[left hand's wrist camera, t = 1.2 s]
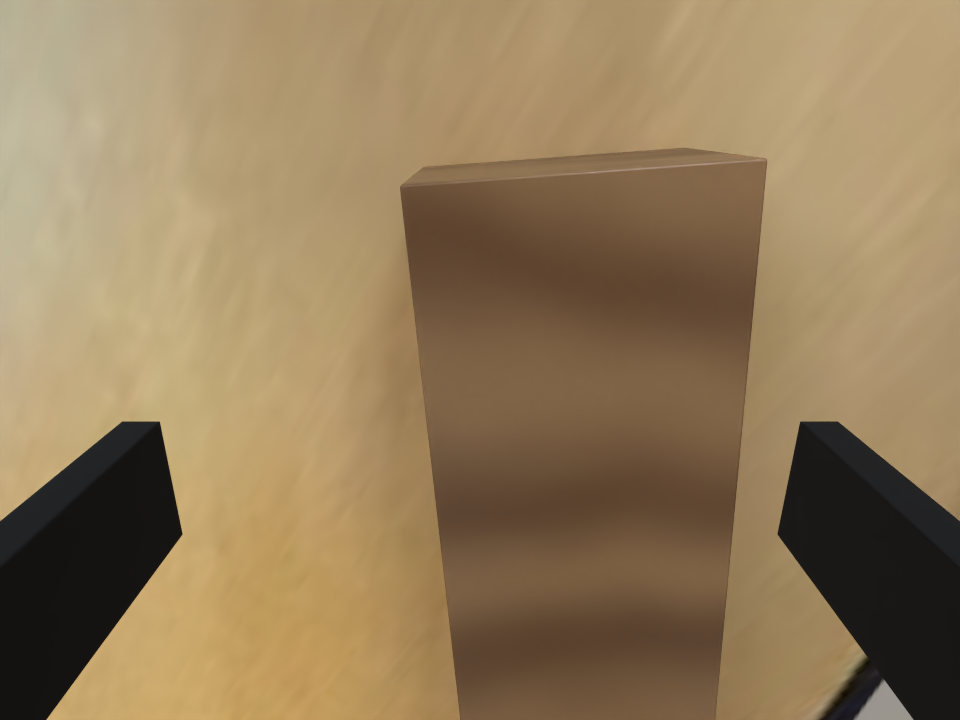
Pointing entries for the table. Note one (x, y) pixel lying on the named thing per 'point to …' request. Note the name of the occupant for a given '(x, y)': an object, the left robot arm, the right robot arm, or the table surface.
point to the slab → (586, 421)
